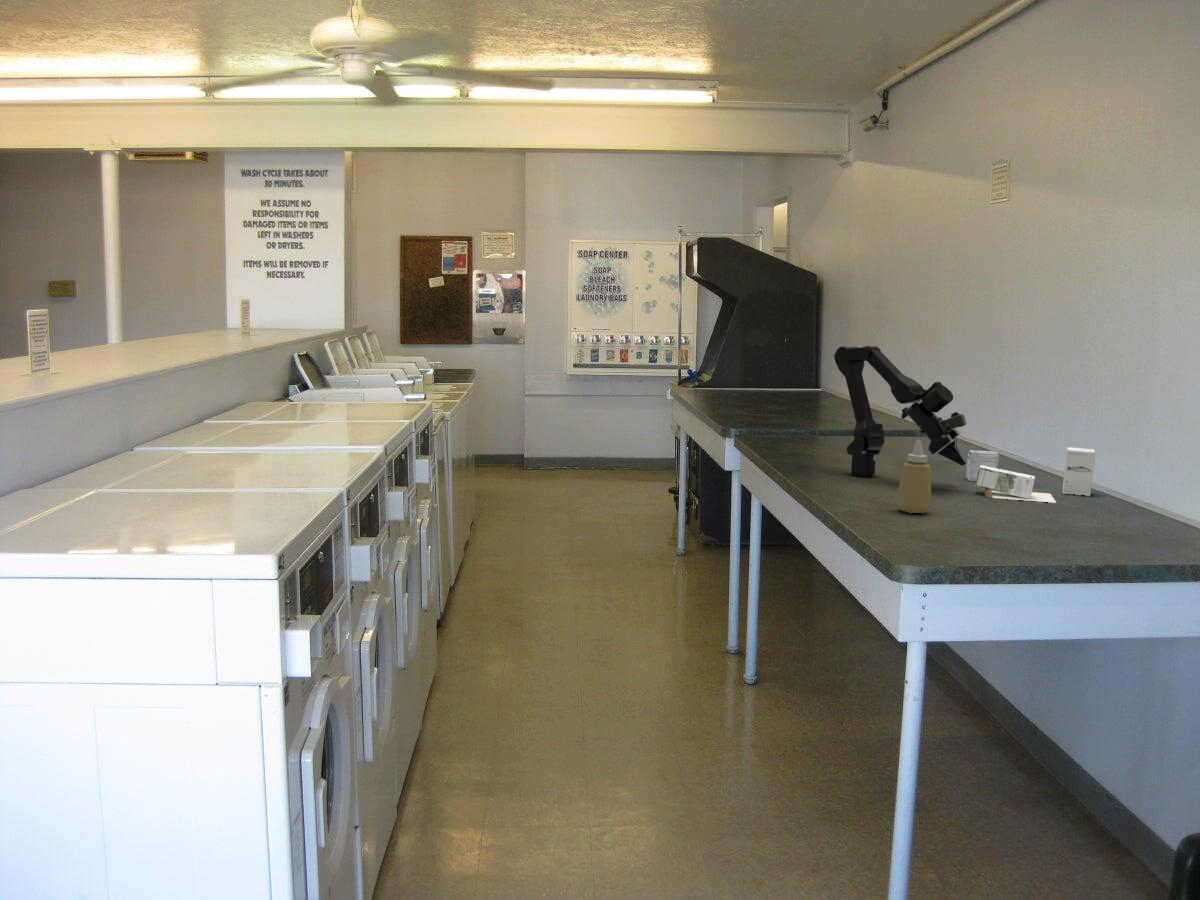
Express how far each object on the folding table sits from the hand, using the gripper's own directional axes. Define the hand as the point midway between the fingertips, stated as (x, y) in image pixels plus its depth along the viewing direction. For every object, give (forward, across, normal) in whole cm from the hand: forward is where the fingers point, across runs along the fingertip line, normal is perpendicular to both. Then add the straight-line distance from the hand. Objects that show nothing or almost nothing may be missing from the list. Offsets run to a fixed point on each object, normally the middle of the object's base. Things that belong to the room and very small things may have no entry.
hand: (964, 464), depth 300 cm
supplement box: (+26, +17, -15) cm, 34 cm away
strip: (+10, 0, 0) cm, 10 cm away
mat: (+16, +2, -6) cm, 17 cm away
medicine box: (+7, +23, +4) cm, 25 cm away
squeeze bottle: (+1, -39, +10) cm, 40 cm away
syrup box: (+4, -1, -1) cm, 4 cm away
